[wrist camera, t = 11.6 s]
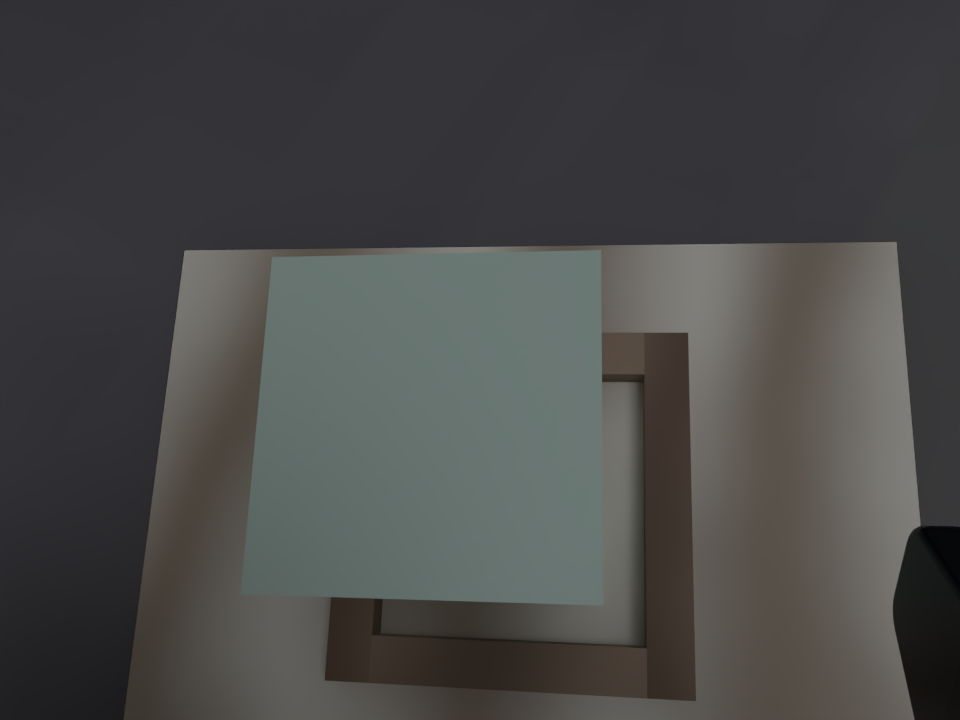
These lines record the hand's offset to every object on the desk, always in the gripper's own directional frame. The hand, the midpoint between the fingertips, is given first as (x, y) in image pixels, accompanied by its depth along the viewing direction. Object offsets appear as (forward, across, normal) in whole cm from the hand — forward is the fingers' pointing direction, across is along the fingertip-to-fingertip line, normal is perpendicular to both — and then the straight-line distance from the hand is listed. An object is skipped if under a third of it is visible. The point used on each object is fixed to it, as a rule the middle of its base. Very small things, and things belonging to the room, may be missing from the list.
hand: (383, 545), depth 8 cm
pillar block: (+10, 0, +8) cm, 13 cm away
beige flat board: (+11, 0, +8) cm, 14 cm away
